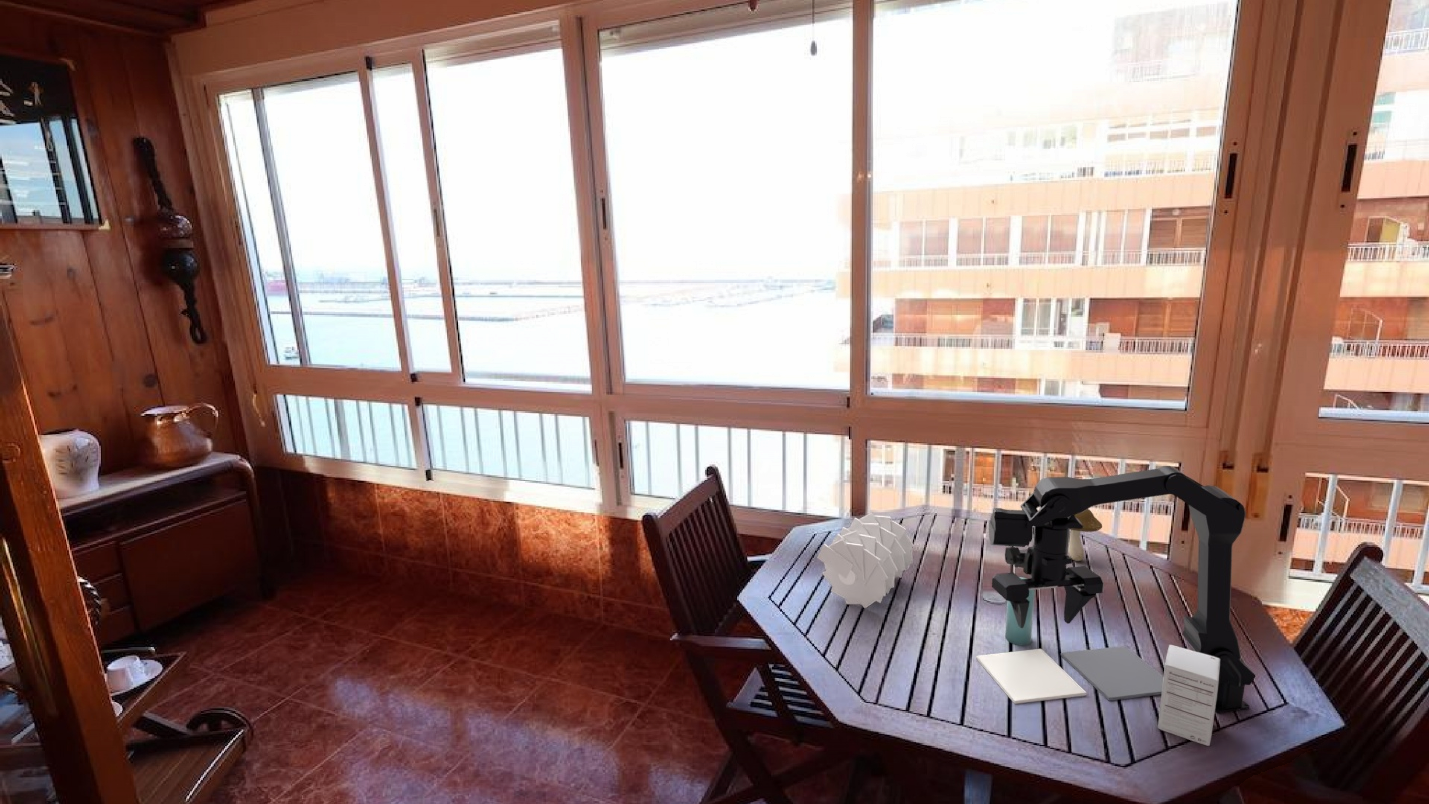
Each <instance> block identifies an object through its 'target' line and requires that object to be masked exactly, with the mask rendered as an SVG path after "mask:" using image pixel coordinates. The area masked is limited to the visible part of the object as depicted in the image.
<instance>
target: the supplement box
mask: <svg viewBox="0 0 1429 804" xmlns="http://www.w3.org/2000/svg"><path fill="white" fill-rule="evenodd" d="M1164 663H1165V664H1164V671H1163V676H1164V678H1163V686H1162V694H1160V695H1161V696H1160V706H1159V716H1158V722H1157V724H1158V725H1157V728H1158V729H1159V730H1160V731H1163V732H1166V733H1169V734H1172V735H1175V736H1178V737H1181V738H1183V739H1185V740H1186V739H1187V740H1190V741H1192V742H1194V743H1198V744H1201V745H1204V746H1207V747H1210V745H1211V740H1212V734H1213V726H1214V719H1215V712H1216V711H1215V706H1216V699H1217V691H1218V681H1219V669H1220V659H1219V658H1217V657H1214V656H1210V655H1207V654H1203V653H1199V652H1196V651H1194V650H1193V649H1192V650H1191V649H1189V648H1184V647H1181V646H1176V645H1173V644H1168V649H1167V651H1166V657H1165V661H1164Z"/></svg>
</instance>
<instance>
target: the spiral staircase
mask: <svg viewBox="0 0 1429 804" xmlns="http://www.w3.org/2000/svg"><path fill="white" fill-rule="evenodd" d="M906 531H907V528H905V527H904V526H902V525H901V524H899V523H898V522H896V521H894V520H892V517H891V516H887V515H886V516H885V515H884V516H883V515H875V514H874V513H873V512H870V513H868V514H866V515H864V516H863V517H860V518H857V517H854V518H853V521H851V524H850V526H849V527H844V526H842V528H841V531H840V532H839V533H840V534H839V533H837V534H836V535H835V537H834V539H833V540H832V542H831V543H830V545H828V544H826V543H824V544H823V545H822V548H820V551H819V553H818V555H817V557H816V558H817V559H818V560H820V561H821V562H822V563H823V564H824V569H825V570H824V571H823V572H822V575H823V576H824V578H825V580H827V581H828V583H829V584H830V585H831V590H830V592H832V593H833V594H835V595H837V596H839V597H840V598H843V599H844V600H845V602H846V605H861V606H862V607H863V608H864V609H866V608H868V607H869V606H870V605H873V603H875V602H877V603H879V604H881V603H882V601H883V598H884V597H886V596H887V595H886V594H889V593H890V590H891V589H892V588H895V580H896V578H897V577H898V578H902V577H903V573H904V571H908V570H909V568H910V565H911V564H913V563H914V562H913V561H914V560H913V550H912V549H913V548H914V547H915V545H914V542H913V541H912V540H911V538H910V537H909V535H908V533H907V532H906Z"/></svg>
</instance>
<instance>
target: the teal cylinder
mask: <svg viewBox="0 0 1429 804" xmlns="http://www.w3.org/2000/svg"><path fill="white" fill-rule="evenodd" d="M1018 577H1019V578H1021V579H1028V578H1026V577H1022V576H1018ZM1035 593H1036V590H1029V597H1027V598H1026V599H1027V600H1028V601H1030V603H1029V608H1028V612H1027V617H1026V622H1025V625H1024V627H1023V628H1020V627H1019V626H1018V623H1017V620H1016V617H1015V614H1014V611H1013V608H1012V605H1011V603H1010V601H1007V600H1006V603H1007V605H1006V619H1005V632H1004V633H1005V635H1004V637H1005V638H1004V639H1006V641H1007V642H1009V643H1011V644H1012V645H1015V646H1022V647H1023V646H1028V645H1030V644H1031V643H1032V636H1033V635H1032V634H1033V623H1034V622H1033V621H1034V620H1033V619H1034V607H1035V606H1034V605H1035V595H1036V594H1035Z"/></svg>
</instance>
